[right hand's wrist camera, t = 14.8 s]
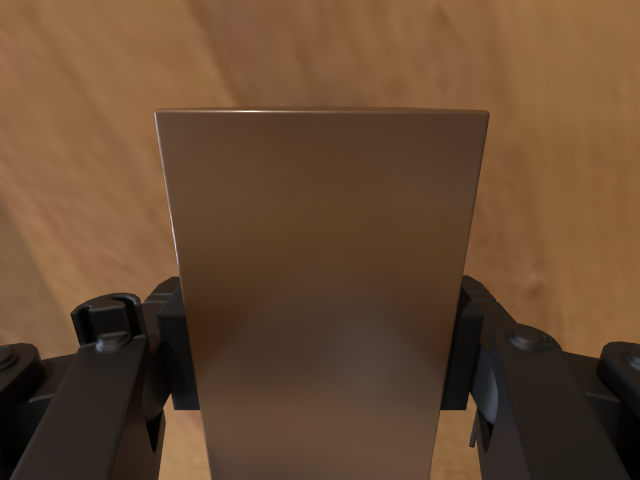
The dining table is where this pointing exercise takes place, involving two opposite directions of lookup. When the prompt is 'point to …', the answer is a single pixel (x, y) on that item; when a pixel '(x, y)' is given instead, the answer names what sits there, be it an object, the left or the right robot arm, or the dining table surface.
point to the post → (320, 280)
